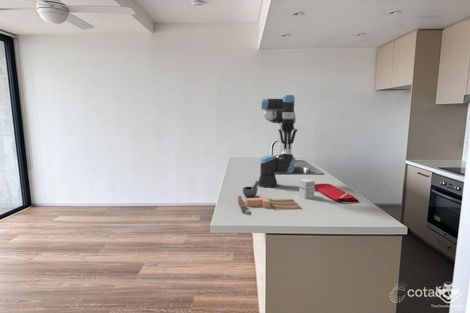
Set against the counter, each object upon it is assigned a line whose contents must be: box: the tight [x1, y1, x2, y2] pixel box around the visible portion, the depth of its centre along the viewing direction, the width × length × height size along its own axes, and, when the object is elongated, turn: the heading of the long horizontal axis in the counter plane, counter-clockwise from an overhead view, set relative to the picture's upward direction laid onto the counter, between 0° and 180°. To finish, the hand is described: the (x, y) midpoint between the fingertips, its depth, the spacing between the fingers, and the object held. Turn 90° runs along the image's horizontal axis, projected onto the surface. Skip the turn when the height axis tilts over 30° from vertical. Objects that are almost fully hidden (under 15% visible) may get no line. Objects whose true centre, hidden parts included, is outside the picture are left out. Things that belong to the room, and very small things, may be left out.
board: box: [237, 195, 303, 214], centre depth 178 cm, size 20×36×4 cm, turn 96°
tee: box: [245, 195, 271, 209], centre depth 177 cm, size 11×13×4 cm
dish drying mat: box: [314, 183, 359, 203], centre depth 206 cm, size 16×41×4 cm, turn 8°
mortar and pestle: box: [242, 180, 259, 198], centre depth 194 cm, size 11×9×12 cm
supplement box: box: [298, 178, 316, 200], centre depth 194 cm, size 7×7×13 cm
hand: (286, 153), depth 197 cm, fingers closed
